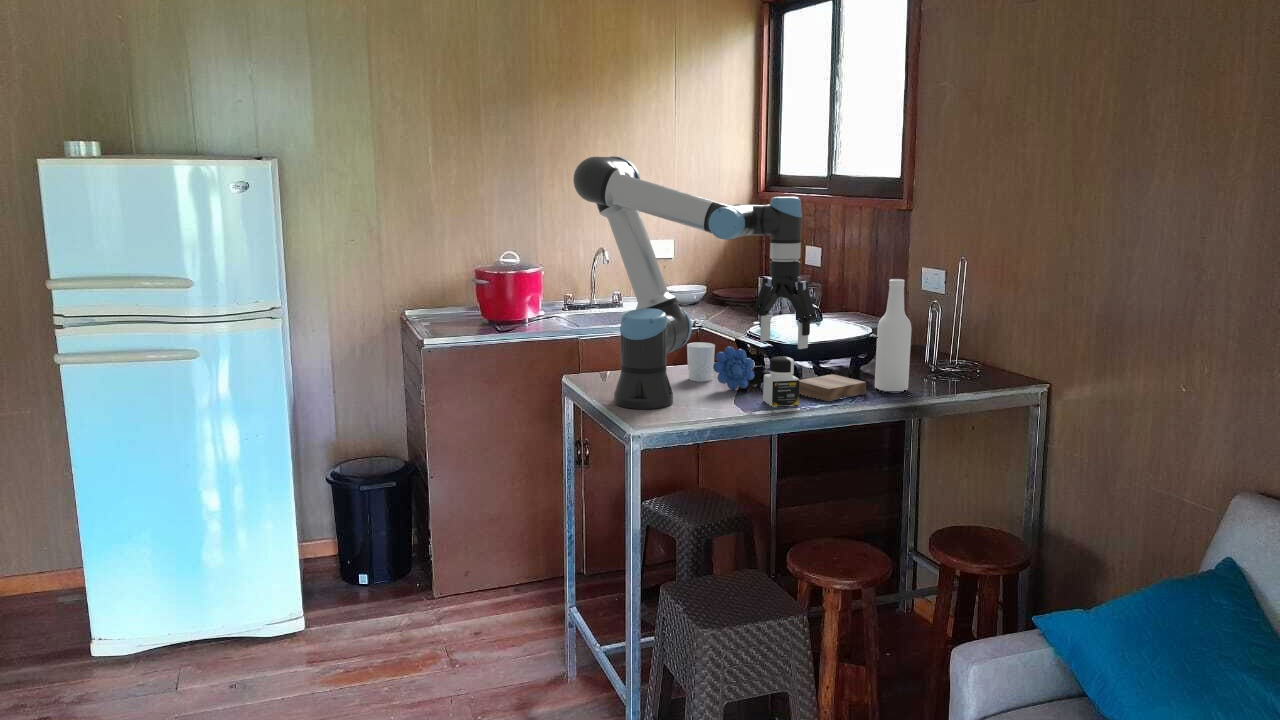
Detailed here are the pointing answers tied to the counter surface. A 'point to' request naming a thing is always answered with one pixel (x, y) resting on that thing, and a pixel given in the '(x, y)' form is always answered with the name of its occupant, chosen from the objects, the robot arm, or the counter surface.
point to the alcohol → (893, 342)
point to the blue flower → (734, 368)
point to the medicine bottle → (781, 383)
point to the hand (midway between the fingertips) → (783, 344)
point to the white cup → (700, 361)
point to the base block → (831, 387)
